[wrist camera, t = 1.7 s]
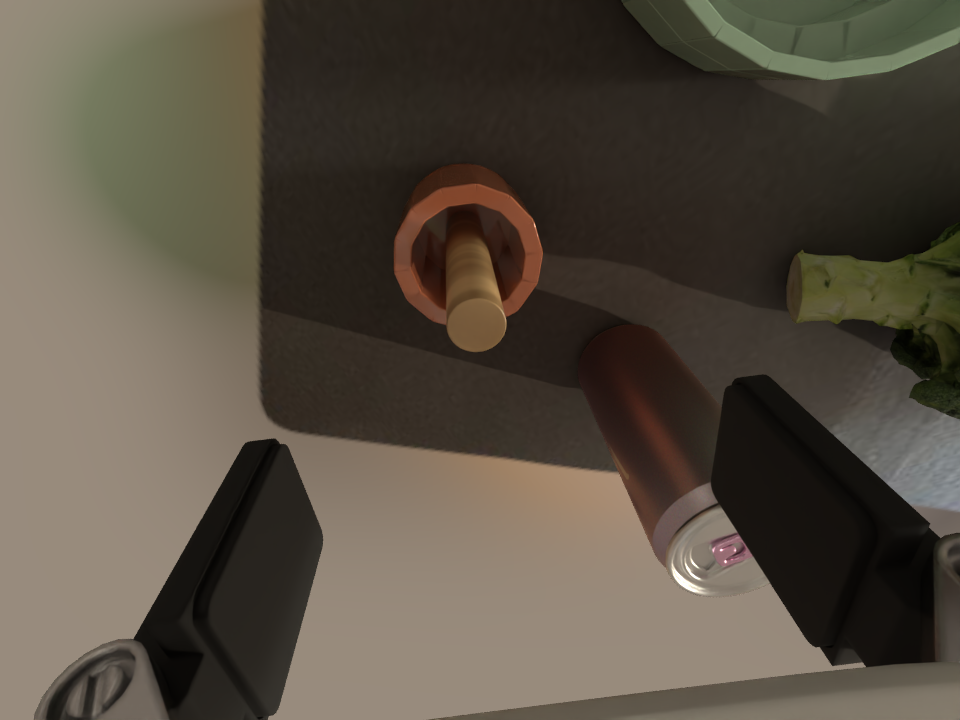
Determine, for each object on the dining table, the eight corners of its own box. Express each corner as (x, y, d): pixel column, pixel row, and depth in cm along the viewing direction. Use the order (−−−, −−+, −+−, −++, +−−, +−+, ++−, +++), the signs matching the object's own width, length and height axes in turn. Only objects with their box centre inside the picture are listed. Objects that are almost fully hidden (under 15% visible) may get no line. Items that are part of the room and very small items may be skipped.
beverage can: (676, 374, 33) (827, 568, 20) (594, 411, 34) (686, 617, 21) (649, 303, 30) (804, 474, 17) (560, 346, 31) (643, 536, 18)
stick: (443, 213, 26) (442, 302, 16) (480, 208, 26) (503, 294, 16) (448, 249, 27) (451, 355, 17) (484, 244, 27) (509, 348, 17)
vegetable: (839, 117, 23) (1319, 111, 18) (775, 233, 35) (1053, 250, 30) (806, 364, 22) (1320, 436, 17) (751, 398, 34) (1040, 446, 28)
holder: (391, 172, 25) (377, 196, 20) (519, 155, 25) (539, 175, 20) (414, 290, 29) (407, 337, 24) (528, 275, 29) (546, 318, 24)
